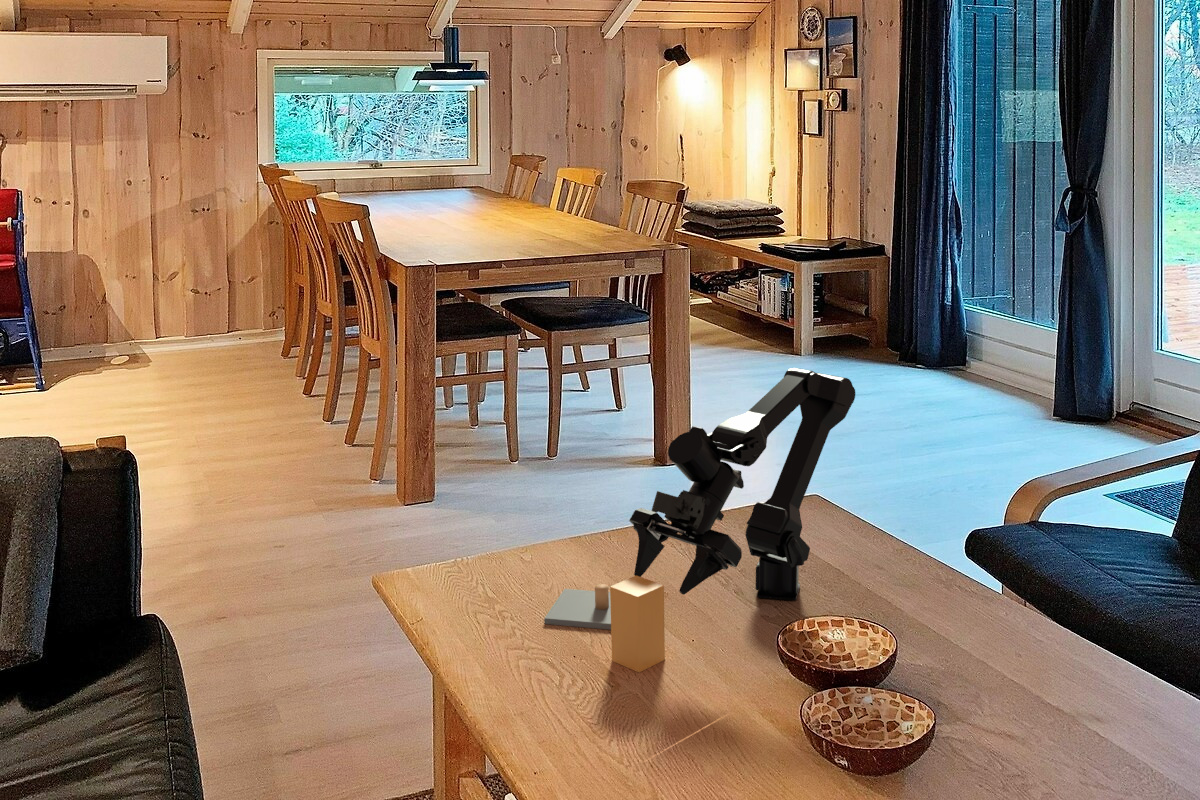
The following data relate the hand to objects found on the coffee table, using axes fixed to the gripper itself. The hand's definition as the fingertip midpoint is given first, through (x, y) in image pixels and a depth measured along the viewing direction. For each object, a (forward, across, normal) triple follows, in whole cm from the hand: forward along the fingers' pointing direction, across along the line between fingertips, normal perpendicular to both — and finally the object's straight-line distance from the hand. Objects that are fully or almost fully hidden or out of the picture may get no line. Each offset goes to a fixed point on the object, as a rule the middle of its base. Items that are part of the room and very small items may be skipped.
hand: (658, 584), depth 194 cm
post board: (+5, -16, +10) cm, 20 cm away
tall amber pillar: (+11, 0, +4) cm, 12 cm away
